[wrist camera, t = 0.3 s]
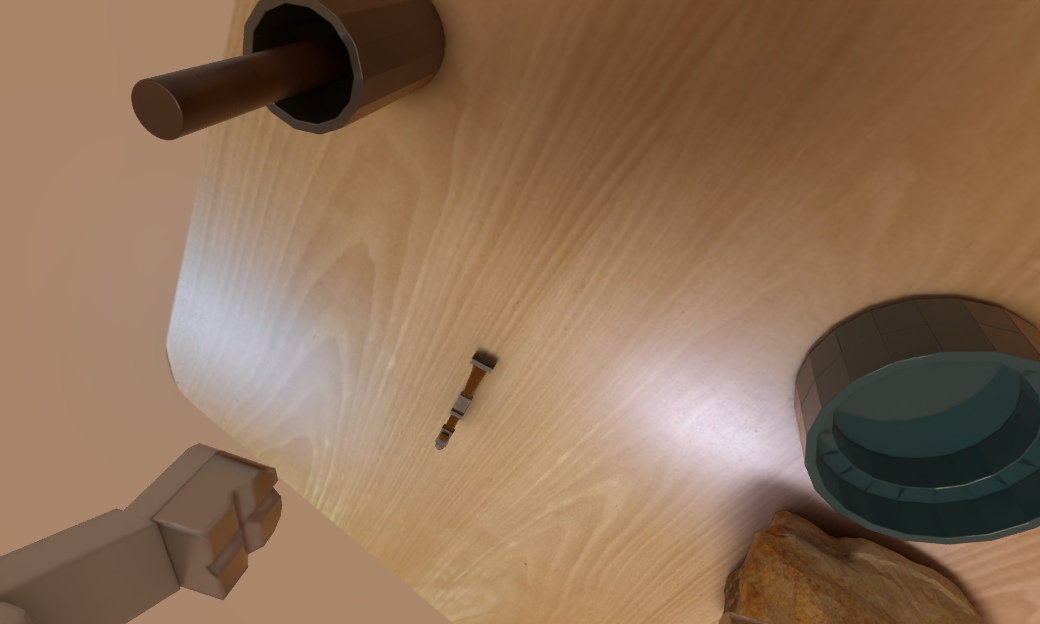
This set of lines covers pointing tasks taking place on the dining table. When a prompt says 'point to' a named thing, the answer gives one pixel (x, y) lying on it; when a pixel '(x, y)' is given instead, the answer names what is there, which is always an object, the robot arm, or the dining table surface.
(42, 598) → the robot arm
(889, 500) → the bowl
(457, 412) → the wooden lamp post
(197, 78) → the stick
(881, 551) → the orange rock
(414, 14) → the holder
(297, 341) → the dining table surface
